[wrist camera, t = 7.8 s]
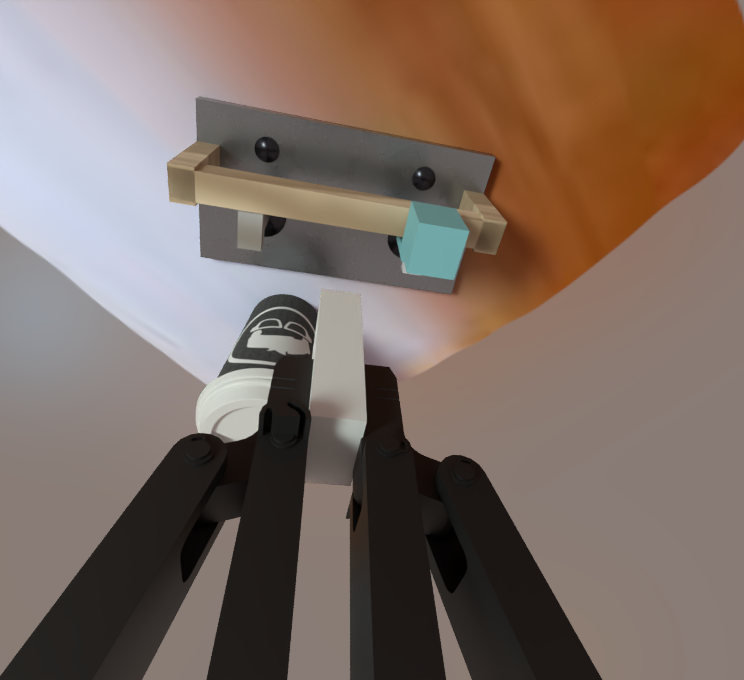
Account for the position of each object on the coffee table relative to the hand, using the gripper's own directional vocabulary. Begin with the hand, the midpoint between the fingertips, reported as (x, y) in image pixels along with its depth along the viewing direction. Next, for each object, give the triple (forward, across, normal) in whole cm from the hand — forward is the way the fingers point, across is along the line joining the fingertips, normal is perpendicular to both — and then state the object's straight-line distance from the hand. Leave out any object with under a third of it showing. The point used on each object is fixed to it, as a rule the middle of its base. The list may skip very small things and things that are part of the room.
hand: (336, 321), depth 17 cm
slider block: (+20, +6, -2) cm, 21 cm away
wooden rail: (+21, 0, -2) cm, 21 cm away
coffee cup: (+22, -3, -15) cm, 27 cm away
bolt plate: (+22, 0, -3) cm, 22 cm away
